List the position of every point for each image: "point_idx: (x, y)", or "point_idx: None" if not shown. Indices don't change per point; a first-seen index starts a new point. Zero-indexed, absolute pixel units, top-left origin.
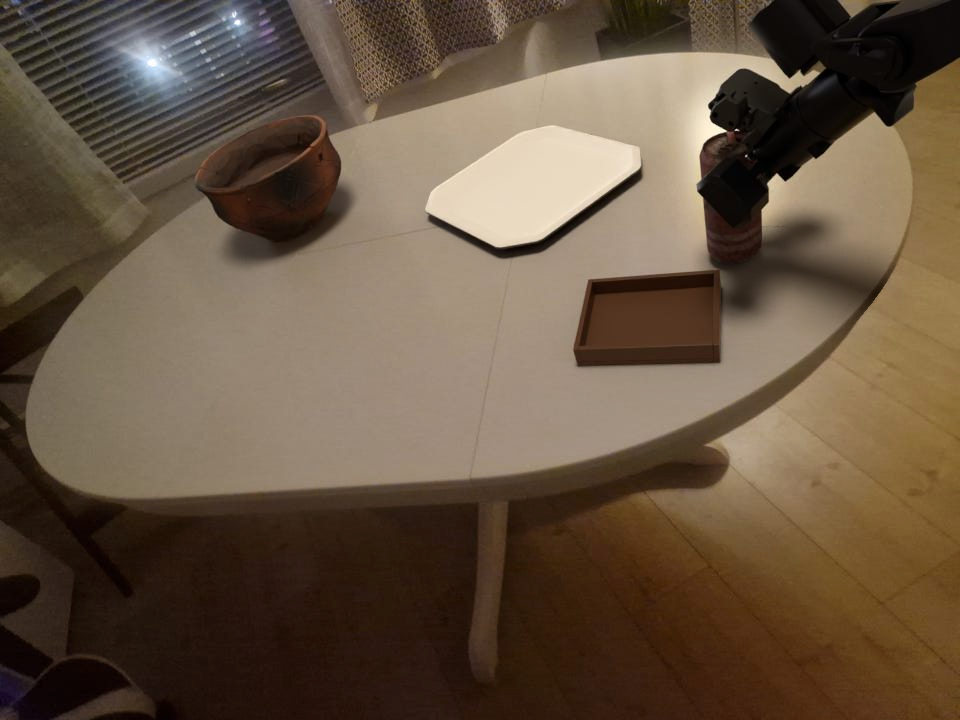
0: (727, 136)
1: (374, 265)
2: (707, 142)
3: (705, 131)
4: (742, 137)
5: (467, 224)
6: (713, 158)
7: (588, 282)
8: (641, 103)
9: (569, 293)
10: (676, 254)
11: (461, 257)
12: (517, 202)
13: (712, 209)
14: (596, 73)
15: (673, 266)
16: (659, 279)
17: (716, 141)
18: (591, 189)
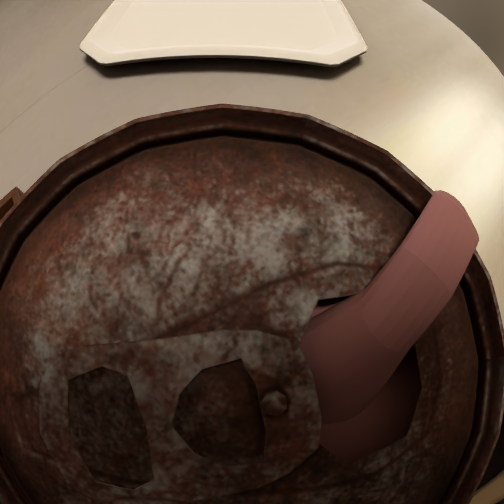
0: (400, 241)
1: (60, 12)
2: (213, 127)
3: (451, 109)
4: (442, 400)
5: (116, 5)
6: None
7: (10, 192)
8: (425, 37)
9: (32, 172)
10: None
11: (80, 37)
12: (182, 7)
13: None
14: (416, 3)
15: None
16: None
17: (273, 190)
18: (252, 41)
